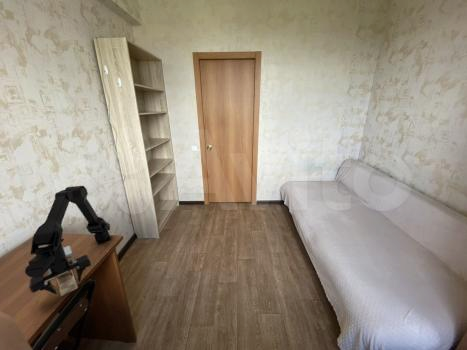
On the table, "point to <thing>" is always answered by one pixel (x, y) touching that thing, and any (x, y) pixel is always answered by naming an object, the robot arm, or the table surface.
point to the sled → (66, 282)
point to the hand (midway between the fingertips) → (68, 287)
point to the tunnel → (68, 253)
